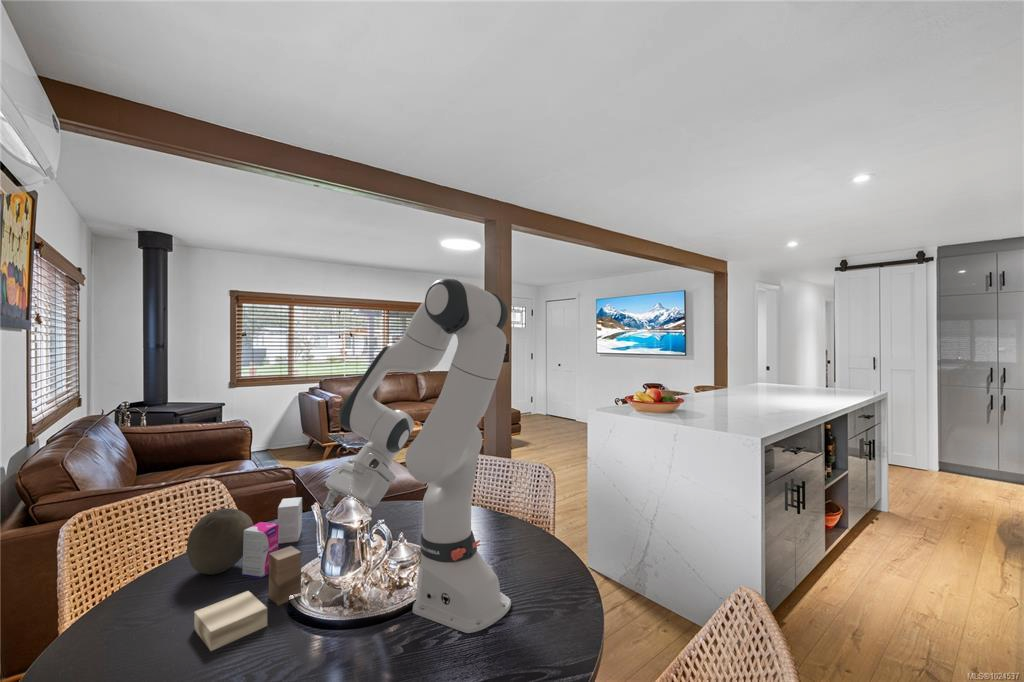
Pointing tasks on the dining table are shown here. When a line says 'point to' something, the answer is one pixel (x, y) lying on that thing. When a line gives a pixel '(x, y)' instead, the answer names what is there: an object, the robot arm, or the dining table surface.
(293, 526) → the small box
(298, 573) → the walnut block
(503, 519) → the dining table surface
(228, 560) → the cantaloupe
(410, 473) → the robot arm
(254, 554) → the supplement box
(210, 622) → the beech block
